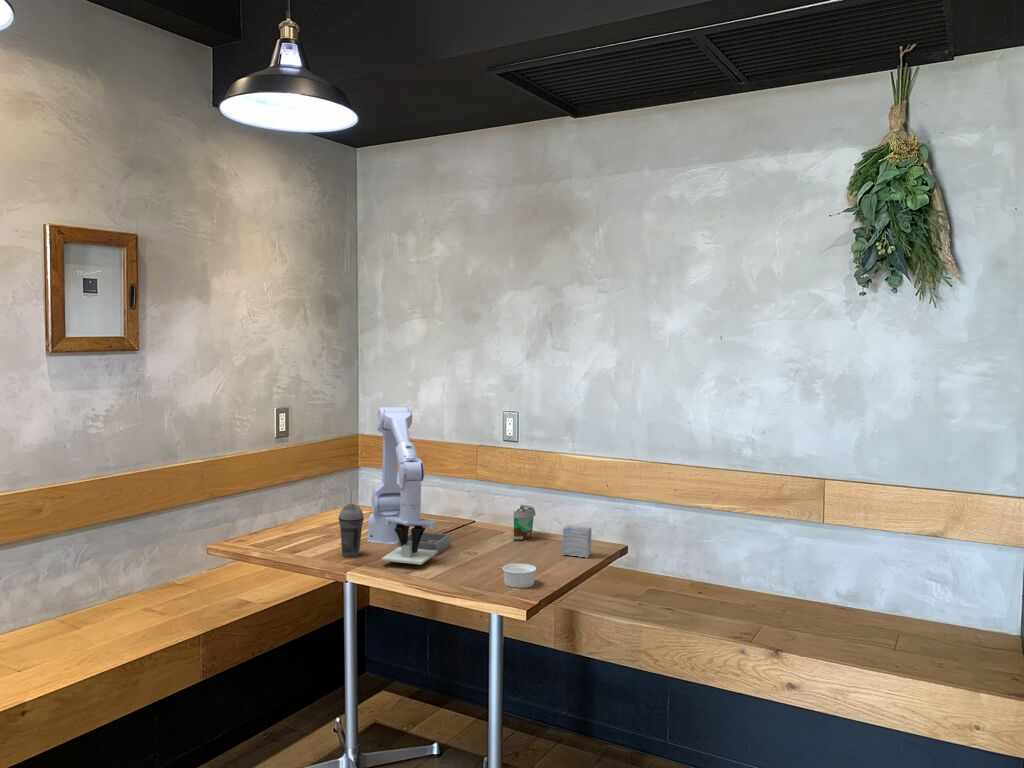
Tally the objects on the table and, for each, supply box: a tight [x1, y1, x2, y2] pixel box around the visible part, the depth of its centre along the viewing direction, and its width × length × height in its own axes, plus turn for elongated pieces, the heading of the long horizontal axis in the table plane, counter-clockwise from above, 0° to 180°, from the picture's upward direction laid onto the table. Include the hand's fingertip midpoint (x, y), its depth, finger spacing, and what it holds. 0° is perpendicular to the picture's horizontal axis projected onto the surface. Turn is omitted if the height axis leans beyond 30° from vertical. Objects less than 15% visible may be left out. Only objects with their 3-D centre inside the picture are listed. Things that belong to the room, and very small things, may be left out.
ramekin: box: [502, 563, 537, 589], centre depth 203 cm, size 9×9×4 cm
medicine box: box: [562, 524, 592, 557], centre depth 232 cm, size 8×4×9 cm, turn 71°
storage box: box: [397, 531, 451, 556], centre depth 234 cm, size 12×12×4 cm
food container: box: [512, 504, 537, 542], centre depth 252 cm, size 12×6×10 cm, turn 168°
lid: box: [380, 541, 437, 565], centre depth 218 cm, size 12×12×4 cm
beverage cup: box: [338, 488, 365, 559], centre depth 224 cm, size 7×7×20 cm
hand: (409, 551), depth 218 cm, fingers closed on lid, 2 cm apart
